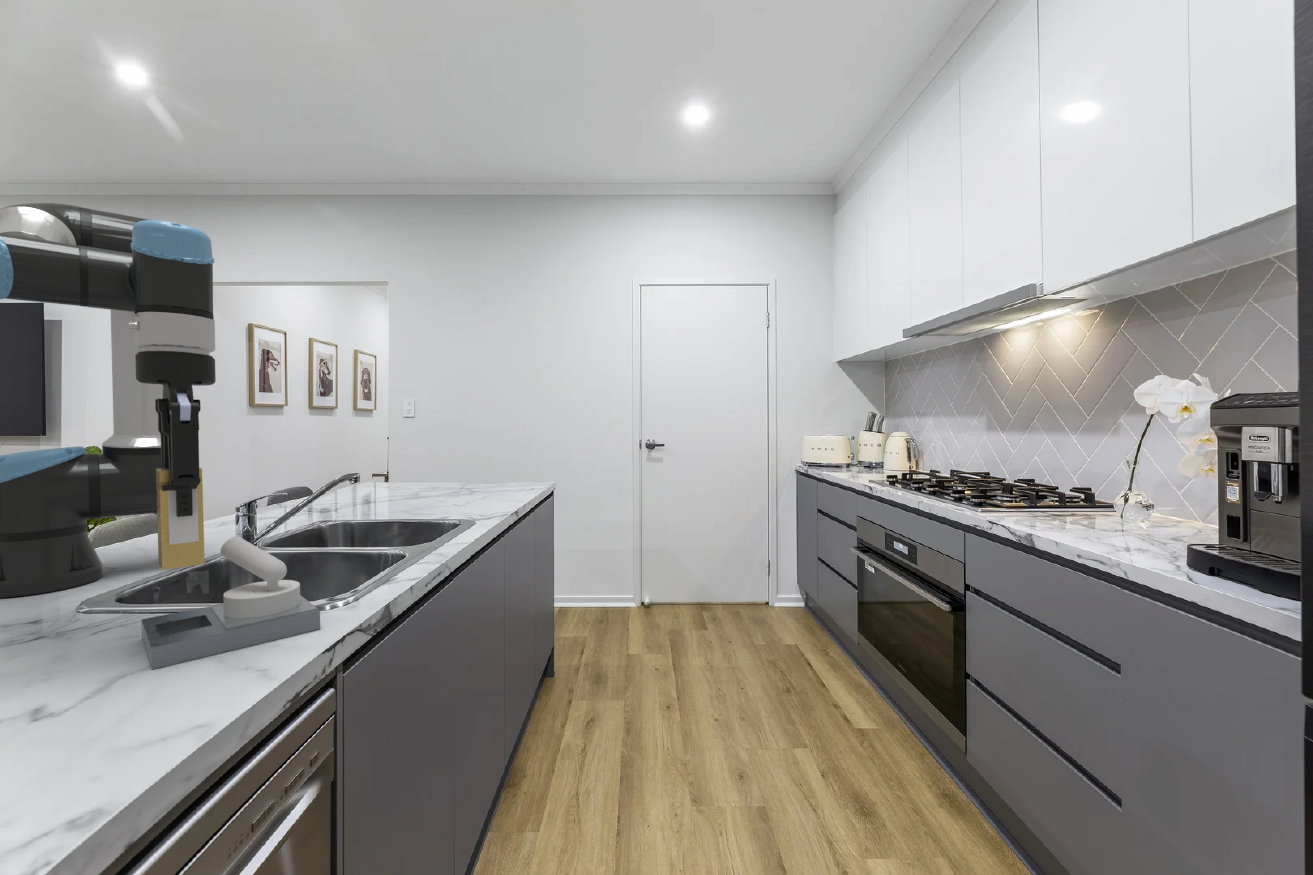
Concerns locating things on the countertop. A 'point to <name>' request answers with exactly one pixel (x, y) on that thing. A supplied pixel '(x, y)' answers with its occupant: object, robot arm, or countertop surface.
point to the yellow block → (168, 553)
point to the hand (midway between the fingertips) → (181, 539)
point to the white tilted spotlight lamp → (258, 583)
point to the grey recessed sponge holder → (219, 632)
